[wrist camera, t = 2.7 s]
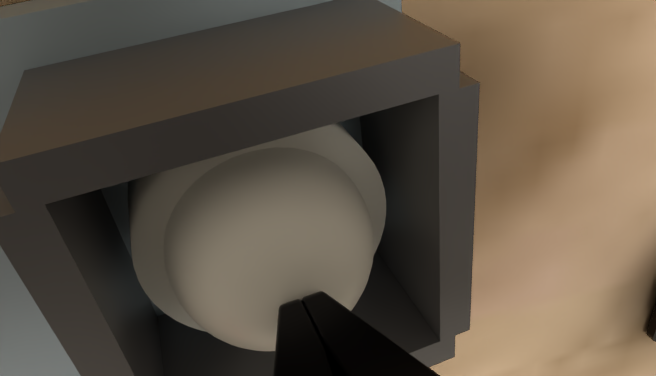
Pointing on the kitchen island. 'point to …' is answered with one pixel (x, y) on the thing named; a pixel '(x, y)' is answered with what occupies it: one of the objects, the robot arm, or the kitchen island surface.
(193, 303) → the dome
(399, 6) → the board
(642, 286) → the kitchen island surface
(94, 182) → the button housing
